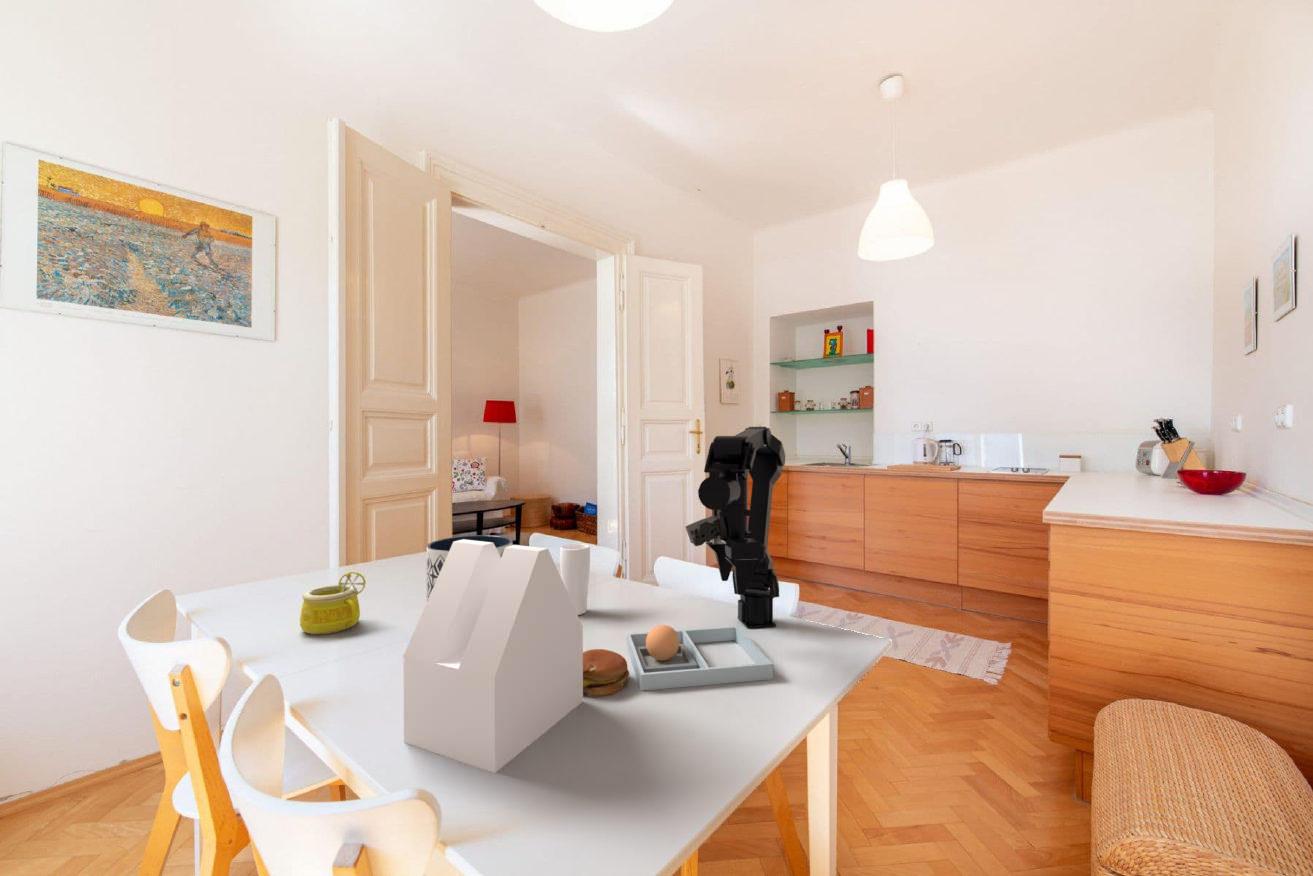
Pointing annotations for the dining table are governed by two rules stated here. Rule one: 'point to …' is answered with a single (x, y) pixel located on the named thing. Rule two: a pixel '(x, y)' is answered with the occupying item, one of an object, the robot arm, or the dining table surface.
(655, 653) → the ball
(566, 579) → the drinking glass
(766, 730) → the dining table surface
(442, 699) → the slotted house block
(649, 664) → the square tray
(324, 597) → the mug
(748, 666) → the two compartment tray
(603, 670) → the burger
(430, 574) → the planter
